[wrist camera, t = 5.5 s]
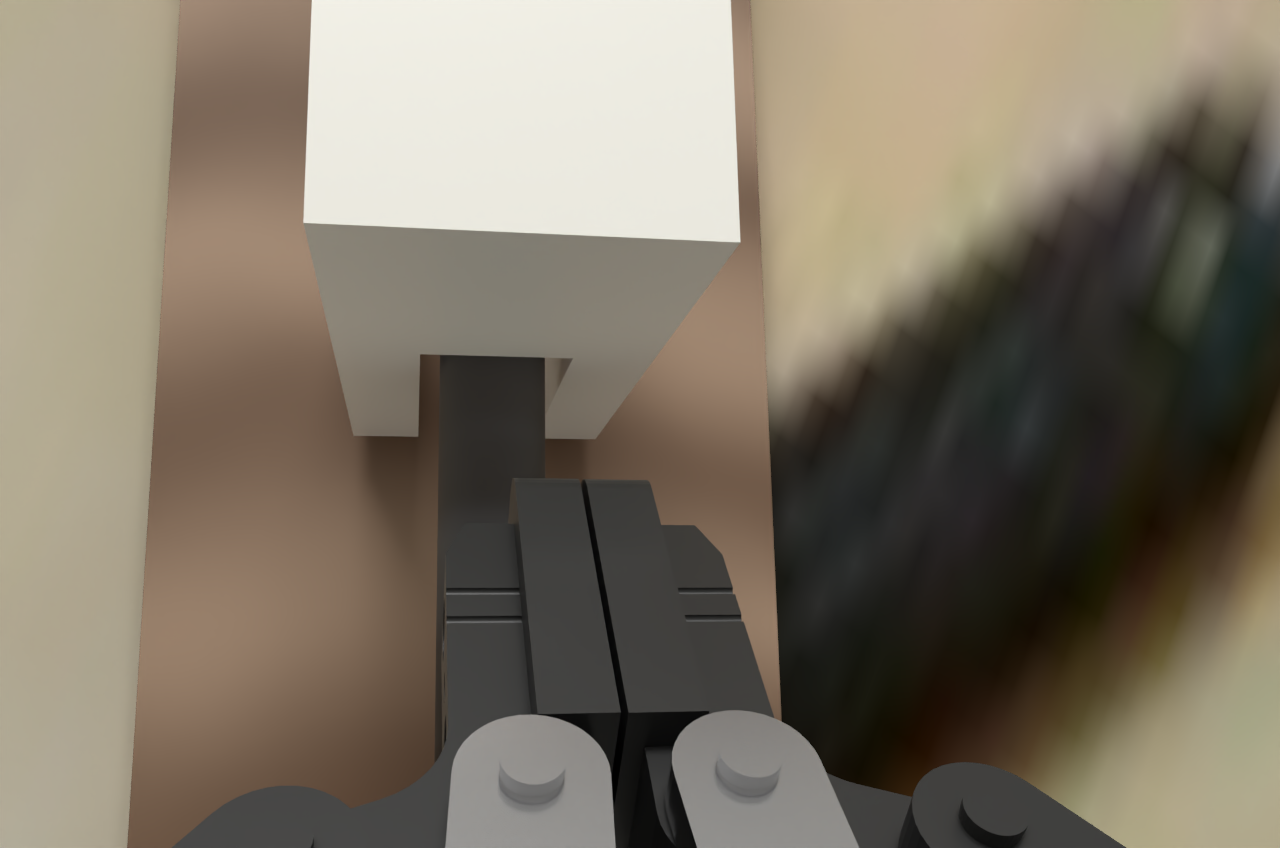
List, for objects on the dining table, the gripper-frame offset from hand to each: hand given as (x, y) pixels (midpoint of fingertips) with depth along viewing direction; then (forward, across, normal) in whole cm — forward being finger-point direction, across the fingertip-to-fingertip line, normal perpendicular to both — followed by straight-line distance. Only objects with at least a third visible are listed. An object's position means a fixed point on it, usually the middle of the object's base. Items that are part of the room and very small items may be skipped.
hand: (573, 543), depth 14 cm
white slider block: (+11, -1, -3) cm, 11 cm away
